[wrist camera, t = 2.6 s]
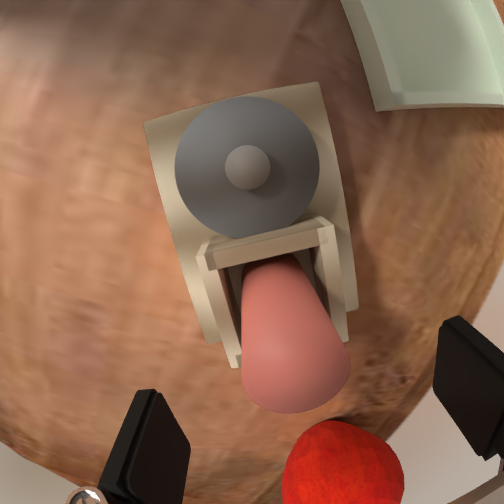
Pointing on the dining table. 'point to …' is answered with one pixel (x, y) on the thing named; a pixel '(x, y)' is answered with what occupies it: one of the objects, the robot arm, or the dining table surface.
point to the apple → (341, 468)
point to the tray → (430, 52)
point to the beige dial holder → (253, 201)
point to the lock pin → (287, 339)
